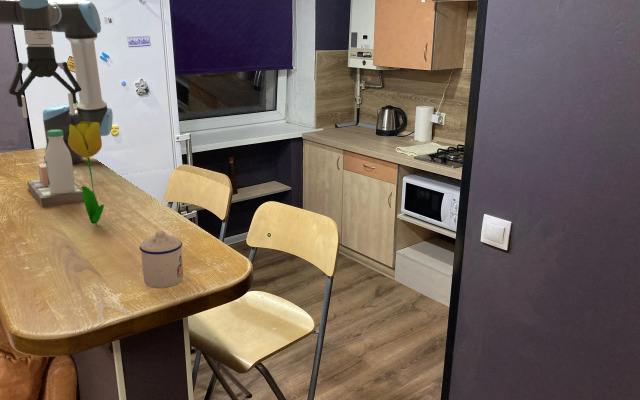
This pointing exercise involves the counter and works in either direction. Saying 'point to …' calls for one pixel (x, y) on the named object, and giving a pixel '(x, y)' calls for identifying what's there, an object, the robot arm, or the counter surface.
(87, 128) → the flower
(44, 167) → the terracotta block
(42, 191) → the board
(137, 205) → the counter surface
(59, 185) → the milk bottle
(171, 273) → the teacup with lid
